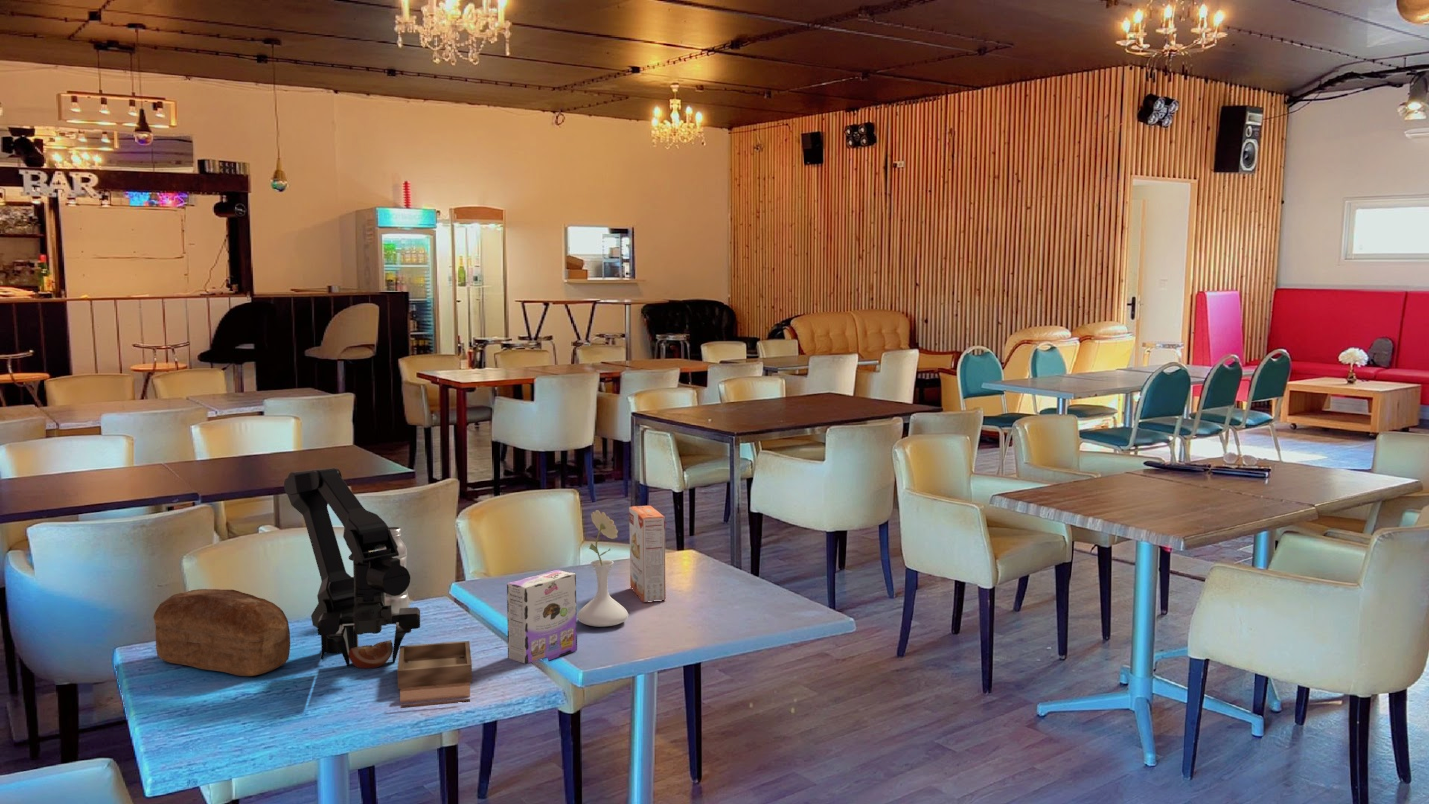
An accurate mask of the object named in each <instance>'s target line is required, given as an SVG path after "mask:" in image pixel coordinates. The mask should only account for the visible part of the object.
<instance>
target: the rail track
mask: <svg viewBox="0 0 1429 804" xmlns="http://www.w3.org/2000/svg"><path fill="white" fill-rule="evenodd" d="M468 697H471V683H470V682H469V683H457V684H445V685H434V686H422V687H410V688H400V689H399V702H400V709H406V708H417V707H427V706H437V705H439V706H440V705H446V704H447V705H450V704H459V703H458V702H462V703H471V698H468ZM459 698H460V699H459ZM461 698H463V699H461ZM449 699H450V700H449ZM451 699H452V700H451ZM435 700H438V701H435ZM440 700H442V701H440ZM425 701H426V702H425ZM427 701H428V702H427ZM429 701H430V702H429ZM412 702H413V703H412ZM414 702H417V703H414ZM419 702H420V703H419ZM404 703H405V704H404ZM406 703H408V704H406Z"/></svg>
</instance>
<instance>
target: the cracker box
mask: <svg viewBox="0 0 1429 804" xmlns="http://www.w3.org/2000/svg"><path fill="white" fill-rule="evenodd" d="M628 511H629V513H628V516H629V519H628V520H629V570H630V571H629V574H630V575H629V576H630V577H629V580H630V582H629V583H630V586H631V587H630V588H631V589H632V588H633V590H634V591H635V592H636V593H635V592H634V591H633V590H632V591H633V592H634V593H635V594H636V596H637V595H638V596H639V597H640V598H639V597H638V596H637V597H638V598H639V600H641V602H642V601H643V602H648V601H654V600H665V599H666V598H667V597H666V592H667V591H666V518H665V517H666V516H664V515H663V514H661V513H660V511H658V510H657V509H656V508H654V507H653V506H652V505H633V506H629V508H628ZM666 600H667V599H666ZM643 602H642V603H643Z"/></svg>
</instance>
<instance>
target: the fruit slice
mask: <svg viewBox="0 0 1429 804" xmlns="http://www.w3.org/2000/svg"><path fill="white" fill-rule="evenodd" d="M393 647H394V643H393V642H392V640H391V639H390V640H385V641H380V642H377V643H376V644H374V645H372V644H370V645H369V644H367V645H362V646H358V647H354V648H351V649H350V651H349V658H350V661H351V662H350V663H352V665H354V666H355V667H357V668H358V669H376V668H379V667H382V666H384V665H385V664H386V663H387V662H388V661H389V659H390V658H391V657H392V655H393Z"/></svg>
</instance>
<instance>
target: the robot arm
mask: <svg viewBox="0 0 1429 804" xmlns="http://www.w3.org/2000/svg"><path fill="white" fill-rule="evenodd" d="M283 488H284V492H285V494H286V496H287V498H288V499H289V502H290V506H292V508H294V509H295V510H296V511H297V512H298V513H300V514H301V515H302V516H303V520H304V523H305V527H306V530H307V535H308V538H309V541H310V544H311V547H312V548H311V549H312V551H313V555H314V559H315V561H316V566H317V569H318V573H319V576H320V580H321V581H320V582H321V583H320V585H319V590H318V593H317V595H316V596H317V601H318V603H317V604H316V607H315V608H314V610H313V611H312V614H311V616H310V618H311V621H312V627H314V628H317V635H318V636H320V639H321V640H320V643H321V645H320V647H321V653H320V656H319V657H320V660H322V659H324V656H325V654H335V655H336V654H341V655H342V658H343V660H344V661H345V664H346V666H347V667H350V665H351V662H350V661H351V660H350V658H349V651H350V649H351V648H354V647H359V636H361V635H363V634H374V635H375V634H379V633H381V632H382V629H383V628H382V627H383V626H387V625H395V632H394V640H393V652H392V655H391V657H392V658H391V659H392V663H393V664H394V663H396V659H397V656H398V654H399V650H400V646H401V643H402V641H403V639H404V637H405V635H406V634H410V633H412V630H416V629H420V628H421V610H420V608H419V607H416V606H414V607H409V608H400V610H399V614H392V607H391V605H388V606H385V593H386V594H389V595H392V596H397V595H400V594H402V593H403V592H405V590H406V589H407V590H408V588H409V586H410V584H411V574H410V572H409V570H408V569H407V567H406V568H405V567H403V566H401V565H400V559H398V558H392V557H396V556H399V553H398V550H397V548H398V546H397V544H396V542H395V540H394V538H393V536H392V534H391V532H390V529H389V527H390V526H388V524H387V523H386V522H385V521H384V520H383V519H382V518H381V517H380V516H379V515H378V513H374V512H371V511H369V510H367V509H366V508H365V507H364V506H363V505H362V504H361V502H360V501H359V499H358V498H357V497H356V495H355V494H354V493H353V491H352V490H351V488H350V487H349V486H348V485H347V482H346V481H344V479H343V478H342V473H341V471H340V469H338V468H335V467H329V468H317V469H316V468H315V469H309V470H301V471H299V470H298V471H292V472H290V473H289V475H288V477H287V478H285V479H284V483H283ZM328 506H329V507H330V508H331V510H332V512H333V513H334V514H335V515H336V517H337V518H338V520H339V521H340V523H341V525H342V526H343V528H344V529H343V534H342V535H343V536H342V537H343V539H344V542H345V544H346V546H347V547H348V550H349V551H350V552H351V553H350V554H349V556H348V560H349V561H352V563H353V564H352V566H353V568H352V570H353V576H351V575H350V574H348V572H347V570H346V567H345V564H344V560H343V558H342V554H341V550H340V546H339V543H338V540H337V537H336V533H335V530H334V526H333V523H332V519H331V515H330V513H329V510H328ZM385 547H386V549H384V550H379V551H378V549H383V548H385Z"/></svg>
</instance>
